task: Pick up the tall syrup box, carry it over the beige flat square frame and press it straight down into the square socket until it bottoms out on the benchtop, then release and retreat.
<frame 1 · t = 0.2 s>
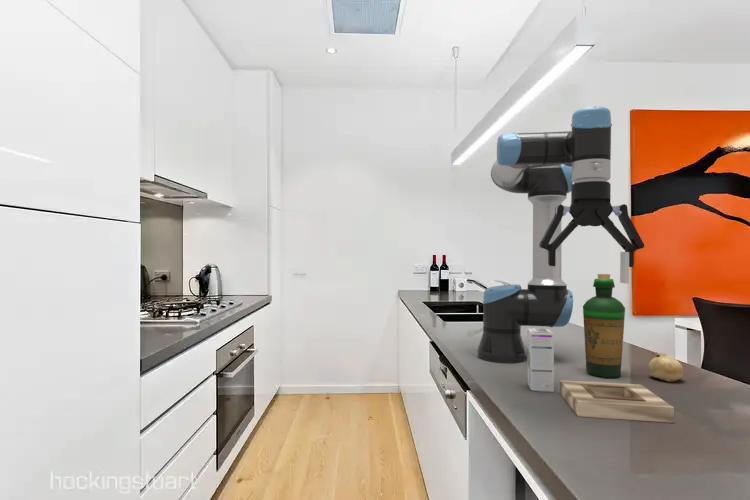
hand: (589, 282, 95), 27 cm above the countertop, fingers open, 13 cm apart
onion: (665, 380, 121), on the countertop
bottle: (603, 375, 125), on the countertop
syrup box: (540, 388, 112), on the countertop
beige flat square frame: (611, 406, 99), on the countertop
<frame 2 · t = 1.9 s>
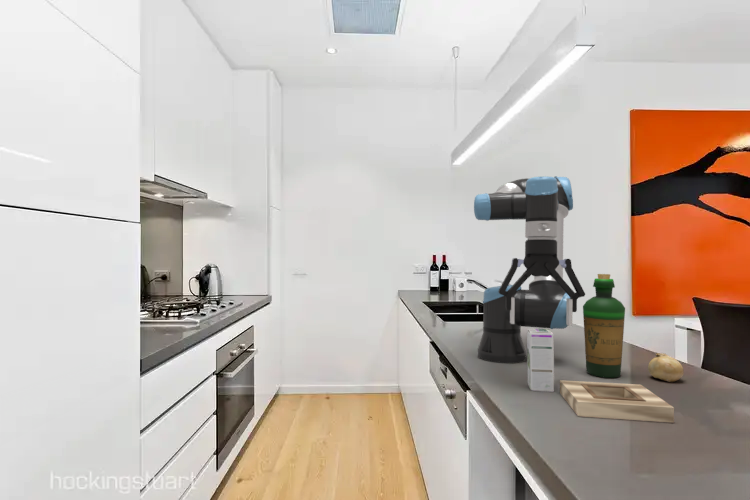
hand: (540, 324, 112), 16 cm above the countertop, fingers open, 13 cm apart
nothing on the countertop moved.
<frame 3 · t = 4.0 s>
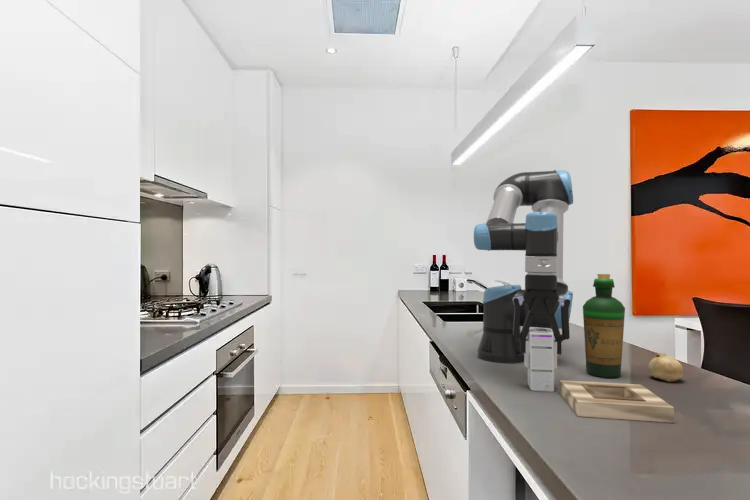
hand: (540, 366, 112), 5 cm above the countertop, fingers closed on syrup box, 6 cm apart
syrup box: (540, 388, 112), on the countertop, touching gripper
everything else where it was.
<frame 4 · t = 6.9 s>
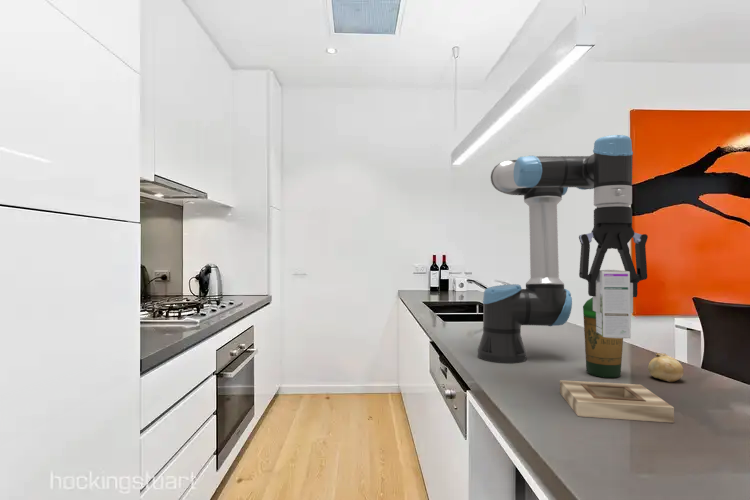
hand: (612, 311, 99), 21 cm above the countertop, fingers closed on syrup box, 6 cm apart
syrup box: (612, 336, 99), point 15 cm above the countertop, touching gripper
everything else where it was.
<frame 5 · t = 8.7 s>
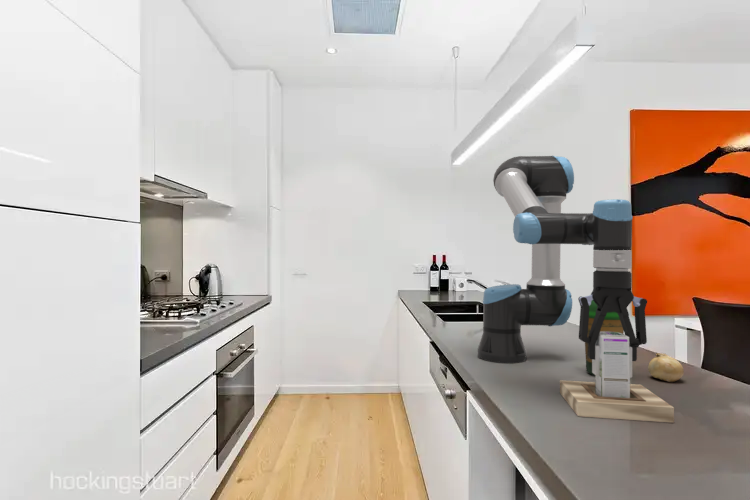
hand: (611, 374, 99), 7 cm above the countertop, fingers closed on syrup box, 6 cm apart
syrup box: (611, 400, 99), point 1 cm above the countertop, touching gripper
everything else where it was.
when the fingers open (6 cm above the countertop, at t = 10.0 s): syrup box stays where it is, resting in beige flat square frame.
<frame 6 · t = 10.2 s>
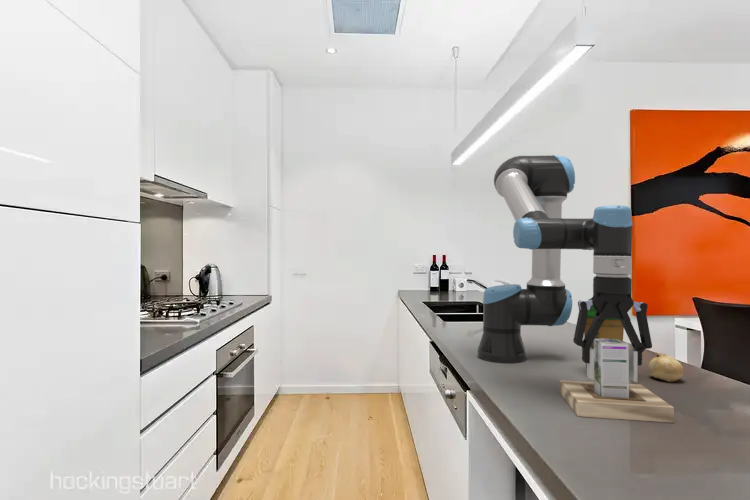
hand: (611, 378, 99), 6 cm above the countertop, fingers open, 8 cm apart
syrup box: (610, 407, 99), resting in beige flat square frame
everything else where it was.
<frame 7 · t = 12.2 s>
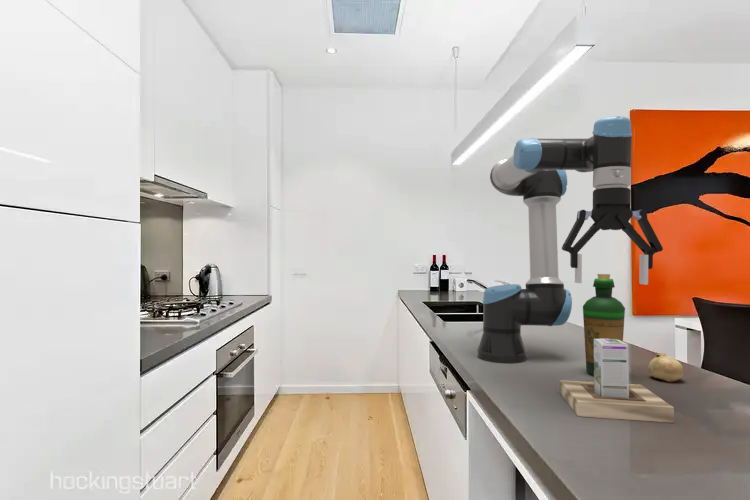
hand: (610, 283, 100), 27 cm above the countertop, fingers open, 13 cm apart
nothing on the countertop moved.
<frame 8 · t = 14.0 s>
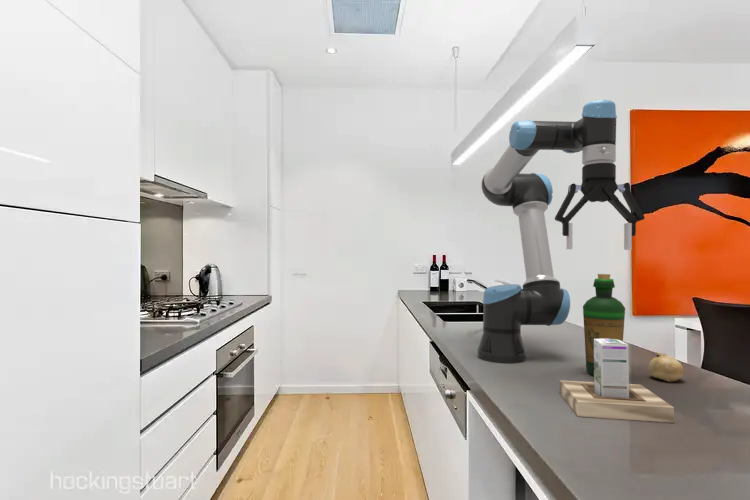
hand: (598, 249, 112), 35 cm above the countertop, fingers open, 13 cm apart
nothing on the countertop moved.
at the end: syrup box 0.2 cm off-centre on the beige flat square frame, point 0.0 cm above the beige flat square frame's base; syrup box tilted 0°; the gripper is holding nothing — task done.
